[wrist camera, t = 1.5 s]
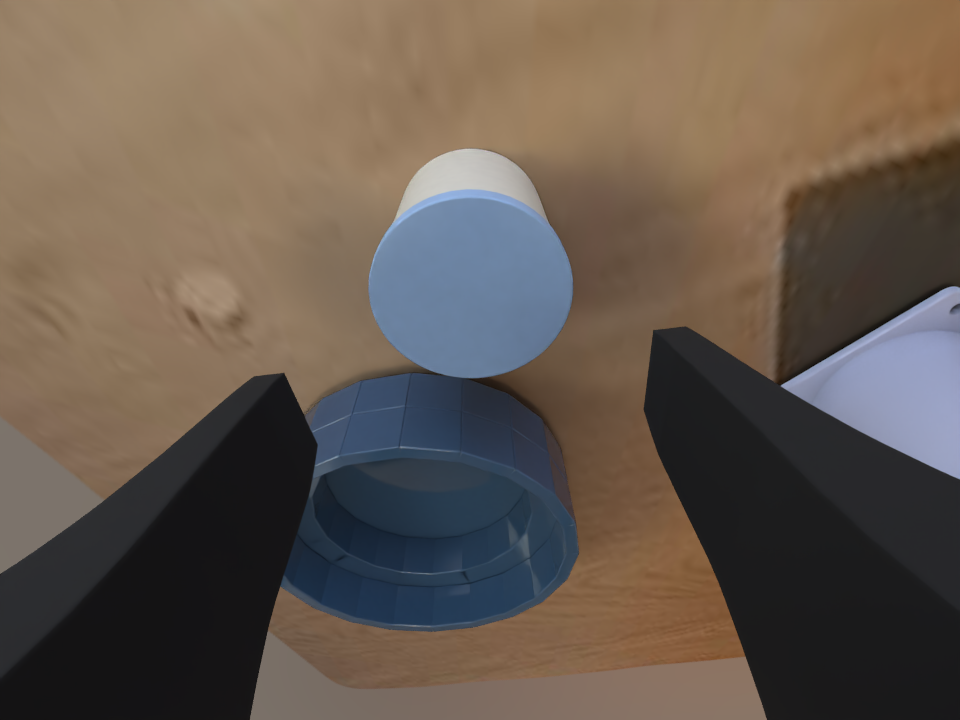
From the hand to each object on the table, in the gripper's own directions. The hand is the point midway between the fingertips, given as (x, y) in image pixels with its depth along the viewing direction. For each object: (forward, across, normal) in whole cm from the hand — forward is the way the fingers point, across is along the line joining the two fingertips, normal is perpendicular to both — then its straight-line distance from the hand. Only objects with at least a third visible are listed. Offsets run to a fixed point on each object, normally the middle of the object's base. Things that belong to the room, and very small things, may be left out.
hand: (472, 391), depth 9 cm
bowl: (+10, +4, +13) cm, 17 cm away
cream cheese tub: (+10, 0, 0) cm, 10 cm away
